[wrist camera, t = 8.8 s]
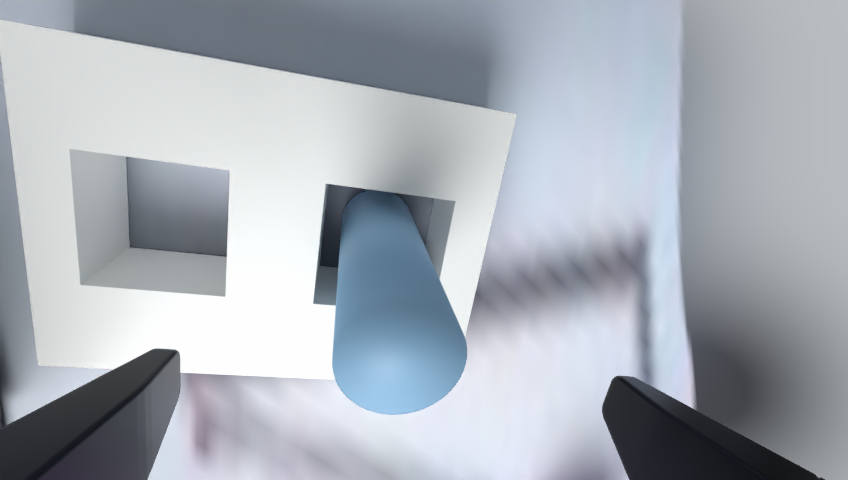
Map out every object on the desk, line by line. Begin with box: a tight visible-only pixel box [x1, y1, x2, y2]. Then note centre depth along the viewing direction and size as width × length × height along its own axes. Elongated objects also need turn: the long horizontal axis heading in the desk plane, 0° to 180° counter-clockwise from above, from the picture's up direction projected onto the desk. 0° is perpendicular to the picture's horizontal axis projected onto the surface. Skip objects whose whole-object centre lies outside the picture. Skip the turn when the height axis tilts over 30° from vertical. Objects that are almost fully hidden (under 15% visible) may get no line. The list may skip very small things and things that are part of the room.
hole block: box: [0, 20, 517, 380], centre depth 17 cm, size 15×11×4 cm
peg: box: [332, 190, 467, 415], centre depth 14 cm, size 3×3×10 cm
